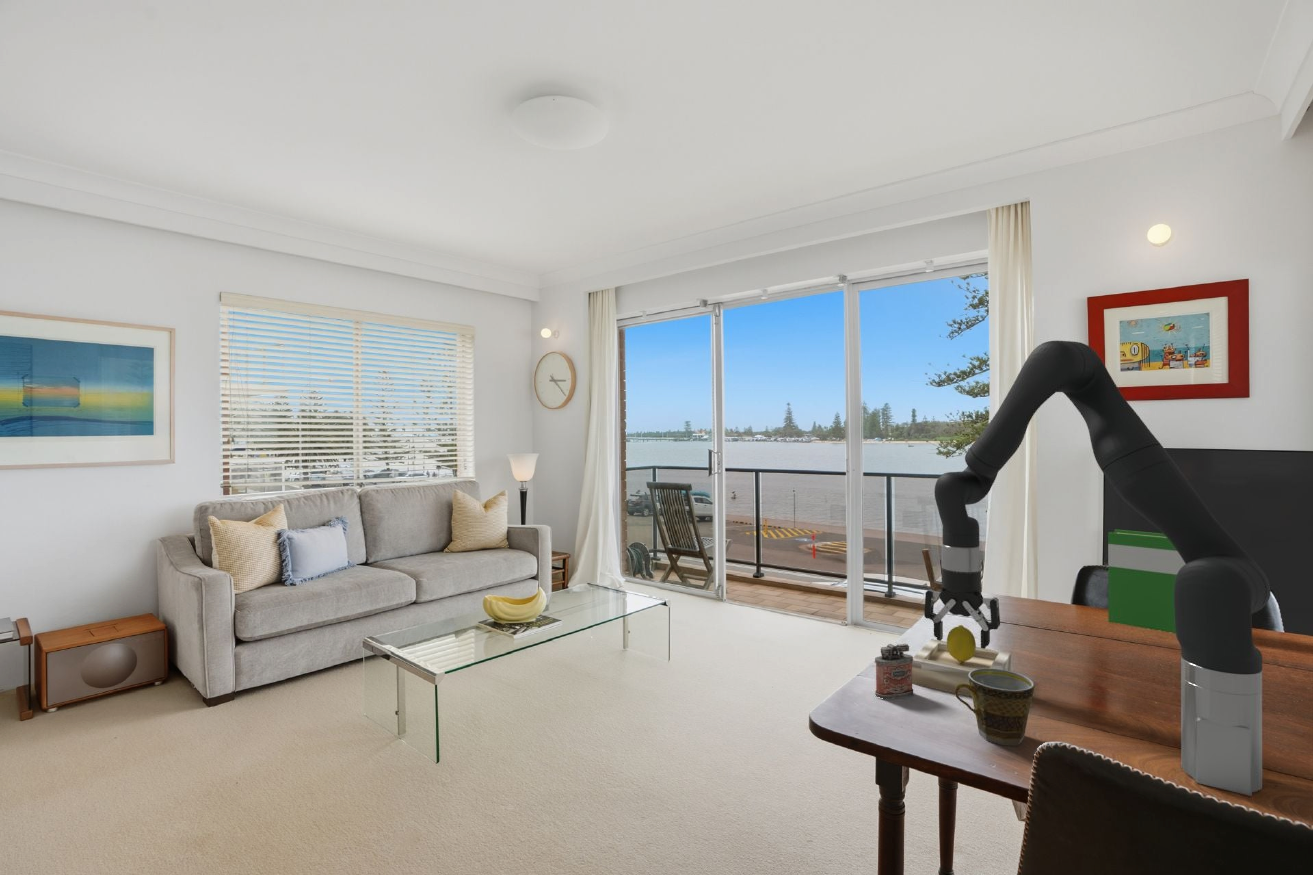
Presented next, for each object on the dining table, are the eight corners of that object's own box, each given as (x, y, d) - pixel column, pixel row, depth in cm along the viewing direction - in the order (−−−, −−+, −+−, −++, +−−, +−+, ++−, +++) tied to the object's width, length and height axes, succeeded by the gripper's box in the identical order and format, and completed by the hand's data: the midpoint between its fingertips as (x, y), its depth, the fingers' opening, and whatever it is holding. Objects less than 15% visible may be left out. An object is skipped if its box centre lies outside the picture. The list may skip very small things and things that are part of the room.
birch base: (997, 705, 125) (997, 676, 125) (911, 686, 135) (911, 659, 135) (1011, 678, 138) (1010, 653, 138) (931, 663, 148) (931, 639, 148)
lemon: (979, 668, 133) (978, 630, 133) (950, 667, 134) (950, 628, 134) (971, 659, 139) (971, 622, 139) (944, 657, 140) (944, 620, 140)
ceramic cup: (1012, 722, 117) (1012, 667, 116) (1048, 750, 107) (1047, 690, 106) (941, 725, 116) (941, 669, 116) (970, 752, 106) (969, 692, 106)
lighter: (881, 701, 127) (881, 650, 126) (871, 694, 130) (871, 644, 130) (917, 695, 129) (916, 645, 129) (906, 689, 132) (905, 640, 132)
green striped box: (1108, 621, 174) (1108, 532, 174) (1115, 616, 180) (1115, 529, 179) (1192, 636, 162) (1192, 540, 161) (1197, 630, 167) (1197, 536, 166)
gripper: (920, 565, 137) (921, 642, 138) (995, 574, 129) (995, 655, 129) (930, 559, 143) (930, 632, 144) (1002, 567, 135) (1002, 645, 135)
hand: (961, 643), depth 136 cm, fingers open, 8 cm apart
